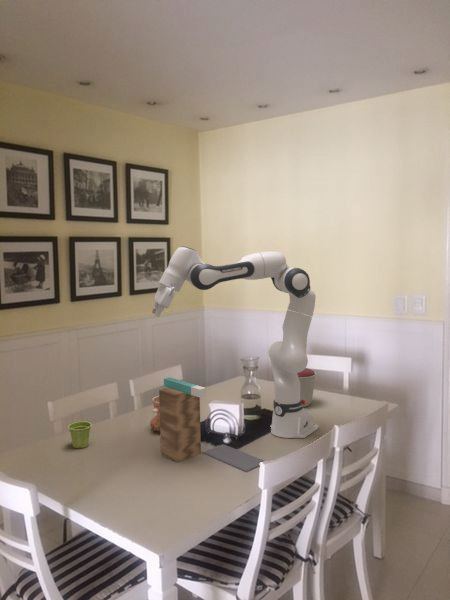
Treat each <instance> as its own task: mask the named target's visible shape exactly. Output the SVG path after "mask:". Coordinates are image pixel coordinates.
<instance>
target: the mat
mask: <svg viewBox="0 0 450 600" xmlns="http://www.w3.org/2000/svg"><path fill="white" fill-rule="evenodd" d="M202 454H204V455H206V456H208V457H211V458H213V459H215V460H218V461H220V462H222V463H224V464H227V465H229V466H231V467H233V468H236V469H238V470H240V471H242V472H244V473H248V472H250V471H252V470H254V469H257V468H260V466H259V463H260V462H263V461H265V460H264V459H261V458H258V457H256V456H253V455H251V454H250V453H249V454H248V453H246V452H245V451H242V450H239V449H236V448H233V447H232V446H229V445H227V444H224V443H222V444H219V445H217V446H214V447H212V448H209V449H207V450H204V451H202Z"/></svg>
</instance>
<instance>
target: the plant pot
mask: <svg viewBox="0 0 450 600" xmlns="http://www.w3.org/2000/svg"><path fill="white" fill-rule="evenodd" d="M92 425H93V423H91V421H90V422H89V421H76V422H72V423H70V424H68V427H67V429H68V430H69V432H70V438H71V443H72V447H73V448H74V449H81V448H84V449H85V448H86V447H88V446H89V443H90V442H89V441H90V433H91V432H90V431H91V428H92Z"/></svg>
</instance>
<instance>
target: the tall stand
mask: <svg viewBox="0 0 450 600" xmlns="http://www.w3.org/2000/svg"><path fill="white" fill-rule="evenodd" d="M158 396H159V403H160V432H159V433H160V434H159V435H160V437H159V438H160V455H161V456H162V457H165V458H167V459H169V460H171V461H173V462H175V463H178V462H182V461H184V460H187V459H189V458H192V457H195V456H197V455H200V454H201V453H202V449H201V448H202V445H201V443H202V442H201V436H202V435H201V397H197V396H193V395H190V394H187V393H184V392H181V391H178V390H175V389H171V388H168V387H165V388H162V389H159V390H158Z"/></svg>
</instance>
